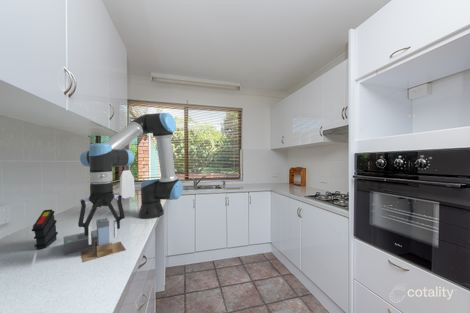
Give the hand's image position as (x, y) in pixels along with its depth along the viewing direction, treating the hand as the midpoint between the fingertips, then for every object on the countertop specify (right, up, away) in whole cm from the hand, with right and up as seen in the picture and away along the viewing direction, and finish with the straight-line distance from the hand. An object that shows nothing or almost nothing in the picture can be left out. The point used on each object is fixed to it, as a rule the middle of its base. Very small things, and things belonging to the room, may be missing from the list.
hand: (103, 240), depth 81 cm
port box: (-11, -6, +6) cm, 14 cm away
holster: (0, -5, 0) cm, 5 cm away
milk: (-53, -7, +120) cm, 131 cm away
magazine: (-31, -6, +9) cm, 33 cm away
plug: (0, -4, 0) cm, 4 cm away
